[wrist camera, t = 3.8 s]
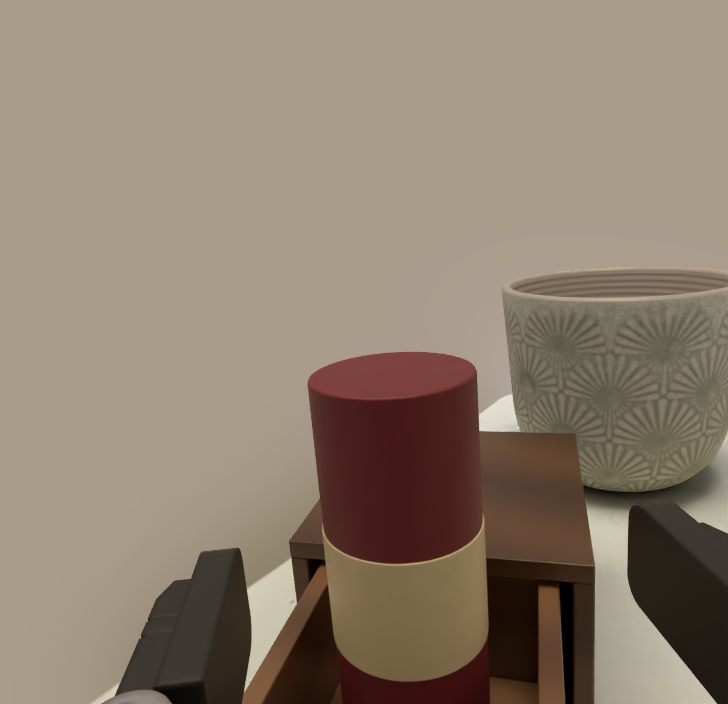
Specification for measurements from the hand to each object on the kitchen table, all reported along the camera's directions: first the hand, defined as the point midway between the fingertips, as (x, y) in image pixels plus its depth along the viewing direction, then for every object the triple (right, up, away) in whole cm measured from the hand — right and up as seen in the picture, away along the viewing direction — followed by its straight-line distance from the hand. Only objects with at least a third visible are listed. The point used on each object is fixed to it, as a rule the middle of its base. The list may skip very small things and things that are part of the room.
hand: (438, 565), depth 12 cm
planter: (+19, -5, +36) cm, 41 cm away
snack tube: (+1, -11, +10) cm, 15 cm away
